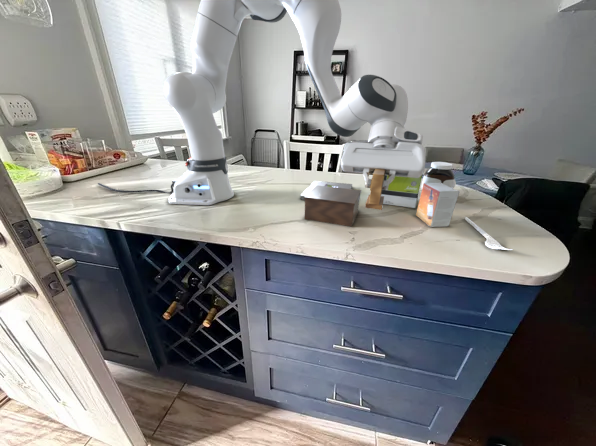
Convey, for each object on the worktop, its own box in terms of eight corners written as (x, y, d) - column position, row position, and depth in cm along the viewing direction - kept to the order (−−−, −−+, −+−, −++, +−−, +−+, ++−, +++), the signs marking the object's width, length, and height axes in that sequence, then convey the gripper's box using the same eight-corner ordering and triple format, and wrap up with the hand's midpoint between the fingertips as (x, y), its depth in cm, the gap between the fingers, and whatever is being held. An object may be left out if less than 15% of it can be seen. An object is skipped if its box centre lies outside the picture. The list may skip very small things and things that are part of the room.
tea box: (416, 199, 87) (425, 158, 81) (415, 209, 79) (425, 163, 73) (373, 194, 93) (378, 154, 87) (368, 202, 85) (374, 159, 79)
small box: (415, 215, 75) (422, 182, 70) (432, 215, 75) (441, 182, 71) (430, 227, 67) (439, 191, 63) (449, 226, 68) (460, 190, 63)
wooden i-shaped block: (364, 207, 60) (369, 173, 57) (368, 198, 66) (372, 167, 63) (381, 210, 59) (387, 175, 55) (383, 200, 65) (388, 168, 61)
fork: (470, 219, 72) (472, 214, 71) (512, 256, 54) (515, 249, 53) (458, 219, 73) (460, 213, 72) (496, 255, 55) (499, 248, 54)
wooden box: (303, 219, 72) (303, 197, 69) (316, 205, 83) (316, 185, 80) (352, 227, 68) (354, 203, 65) (358, 211, 78) (361, 190, 75)
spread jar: (420, 195, 92) (427, 164, 87) (419, 187, 101) (425, 158, 96) (456, 199, 88) (466, 167, 83) (451, 190, 97) (460, 161, 92)
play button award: (300, 195, 87) (314, 180, 104) (300, 199, 88) (314, 184, 105) (345, 200, 83) (352, 184, 100) (345, 204, 83) (352, 187, 101)
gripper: (344, 132, 65) (333, 177, 61) (429, 135, 58) (423, 185, 54) (346, 147, 70) (336, 189, 66) (424, 151, 64) (418, 198, 60)
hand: (376, 187), depth 60 cm, fingers closed on wooden i-shaped block, 3 cm apart
